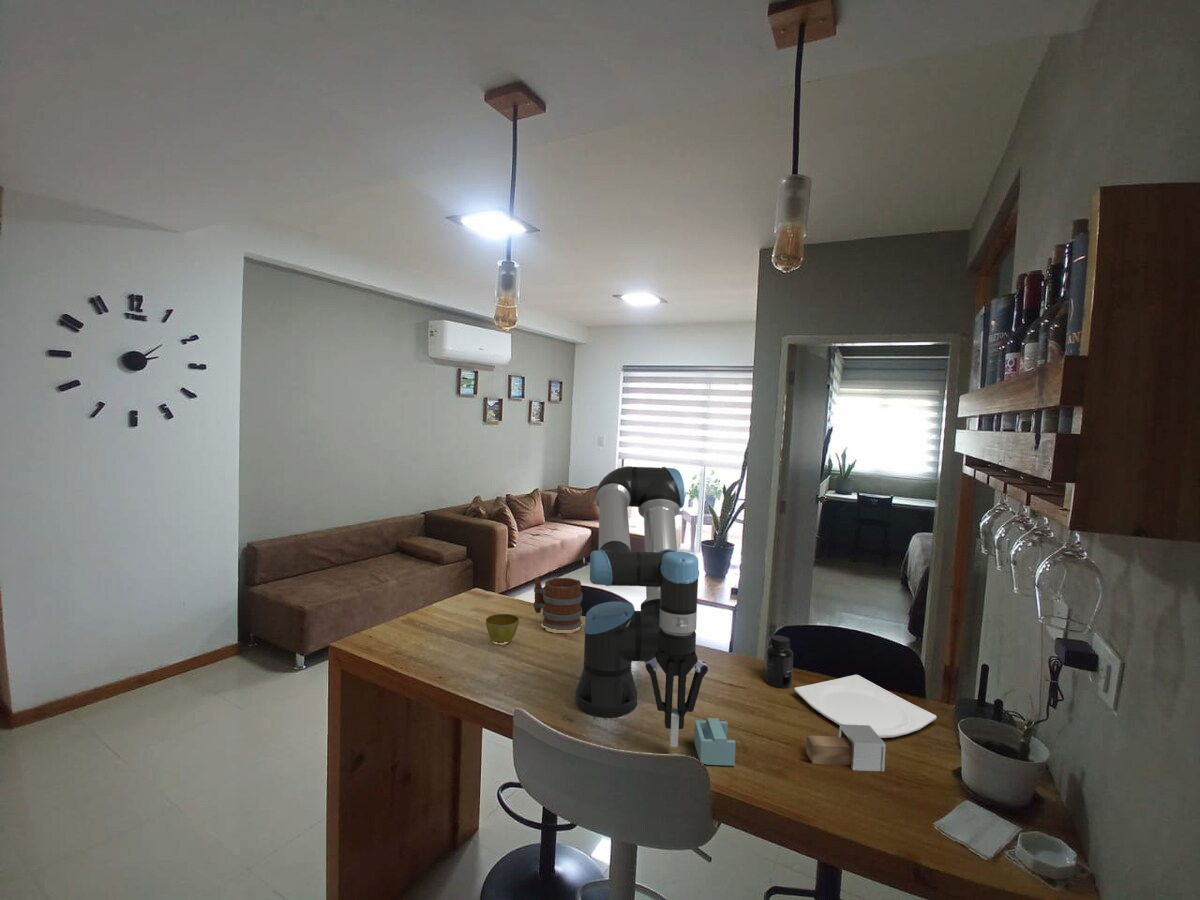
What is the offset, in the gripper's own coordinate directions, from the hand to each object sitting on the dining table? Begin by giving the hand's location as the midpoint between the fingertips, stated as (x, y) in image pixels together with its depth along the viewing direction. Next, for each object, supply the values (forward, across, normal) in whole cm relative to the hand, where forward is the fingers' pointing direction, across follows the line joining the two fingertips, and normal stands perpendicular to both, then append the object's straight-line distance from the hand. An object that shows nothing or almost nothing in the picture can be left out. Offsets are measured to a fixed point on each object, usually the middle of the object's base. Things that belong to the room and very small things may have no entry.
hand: (673, 743), depth 109 cm
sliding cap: (+2, +9, 0) cm, 9 cm away
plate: (+3, +48, +20) cm, 52 cm away
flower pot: (+2, -46, +53) cm, 70 cm away
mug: (+2, -31, +69) cm, 76 cm away
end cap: (+2, +38, 0) cm, 38 cm away
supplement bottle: (+2, +32, +33) cm, 46 cm away
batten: (+3, +34, 0) cm, 34 cm away
